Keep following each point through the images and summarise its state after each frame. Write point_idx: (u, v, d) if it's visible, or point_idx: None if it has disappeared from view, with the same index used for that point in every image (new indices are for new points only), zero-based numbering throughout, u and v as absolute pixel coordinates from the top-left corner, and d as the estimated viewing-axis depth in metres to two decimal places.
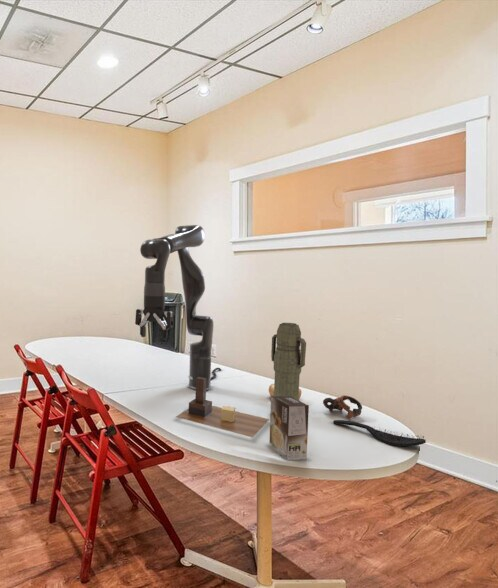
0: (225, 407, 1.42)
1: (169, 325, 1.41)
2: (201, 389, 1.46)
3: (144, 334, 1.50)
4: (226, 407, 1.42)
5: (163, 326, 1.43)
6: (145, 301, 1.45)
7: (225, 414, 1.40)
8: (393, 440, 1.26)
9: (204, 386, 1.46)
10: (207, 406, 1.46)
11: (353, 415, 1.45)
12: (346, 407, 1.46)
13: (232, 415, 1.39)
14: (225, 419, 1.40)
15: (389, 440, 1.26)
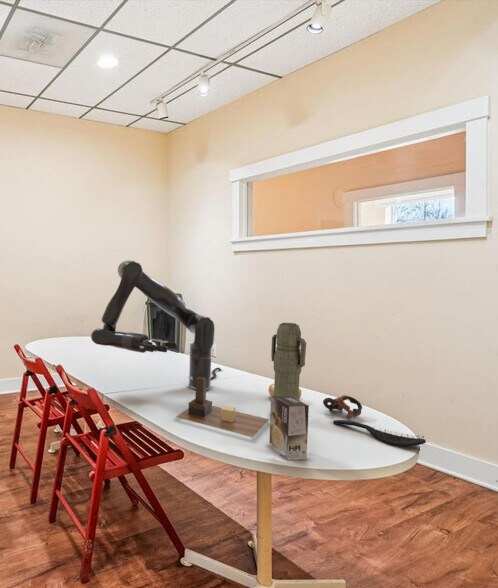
0: (225, 407, 1.42)
1: (150, 351, 1.53)
2: (201, 389, 1.46)
3: (174, 345, 1.58)
4: (226, 407, 1.42)
5: None
6: None
7: (225, 414, 1.40)
8: (393, 440, 1.26)
9: (204, 386, 1.46)
10: (207, 406, 1.46)
11: (353, 415, 1.45)
12: (346, 407, 1.46)
13: (232, 415, 1.39)
14: (225, 419, 1.40)
15: (389, 440, 1.26)
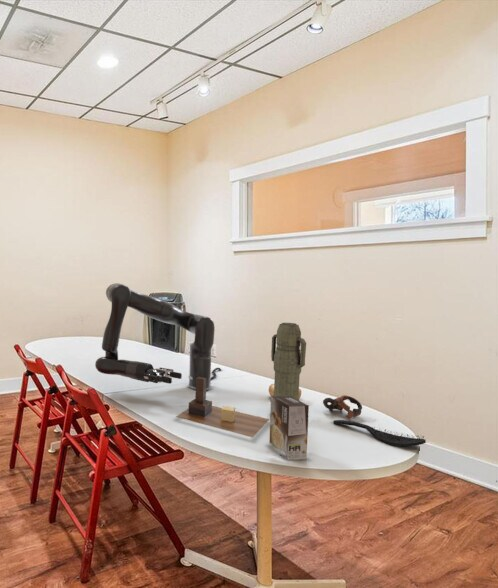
0: (225, 407, 1.42)
1: (154, 382, 1.53)
2: (201, 389, 1.46)
3: (179, 375, 1.57)
4: (226, 407, 1.42)
5: None
6: None
7: (225, 414, 1.40)
8: (393, 440, 1.26)
9: (204, 386, 1.46)
10: (207, 406, 1.46)
11: (353, 415, 1.45)
12: (346, 407, 1.46)
13: (232, 415, 1.39)
14: (225, 419, 1.40)
15: (389, 440, 1.26)
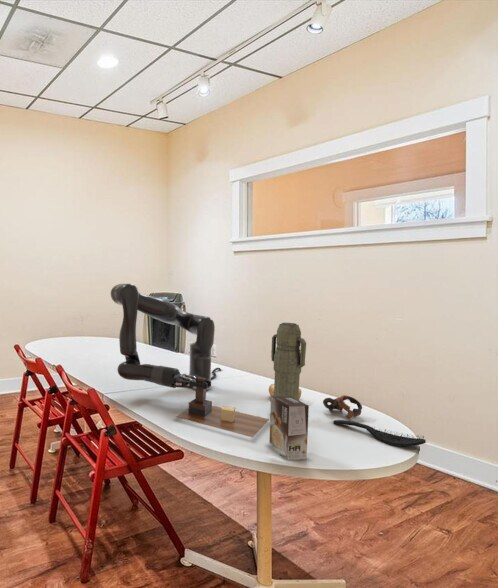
0: (225, 407, 1.42)
1: None
2: (201, 389, 1.46)
3: (208, 383, 1.47)
4: (226, 407, 1.42)
5: None
6: None
7: (225, 414, 1.40)
8: (393, 440, 1.26)
9: None
10: (207, 406, 1.46)
11: (353, 415, 1.45)
12: (346, 407, 1.46)
13: (232, 415, 1.39)
14: (225, 419, 1.40)
15: (389, 440, 1.26)
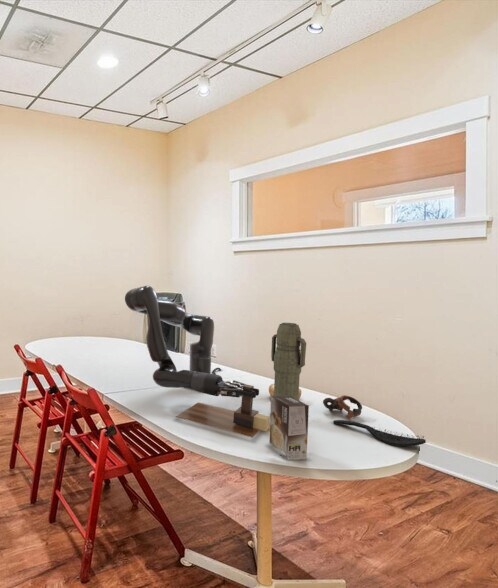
0: (259, 415, 1.35)
1: (236, 396, 1.35)
2: (248, 398, 1.35)
3: (256, 392, 1.36)
4: (260, 415, 1.35)
5: None
6: None
7: (258, 422, 1.33)
8: (393, 440, 1.26)
9: None
10: None
11: (353, 415, 1.45)
12: (346, 407, 1.46)
13: (265, 424, 1.31)
14: (257, 427, 1.33)
15: (389, 440, 1.26)
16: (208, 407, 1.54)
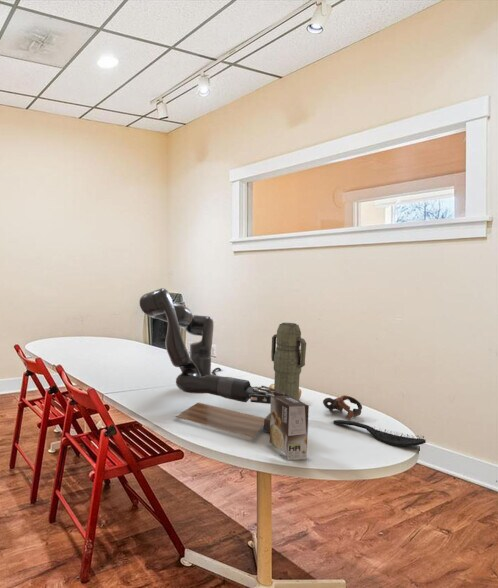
0: None
1: None
2: None
3: None
4: None
5: None
6: None
7: None
8: (393, 440, 1.26)
9: None
10: None
11: (353, 415, 1.45)
12: (346, 407, 1.46)
13: None
14: None
15: (389, 440, 1.26)
16: (208, 407, 1.54)
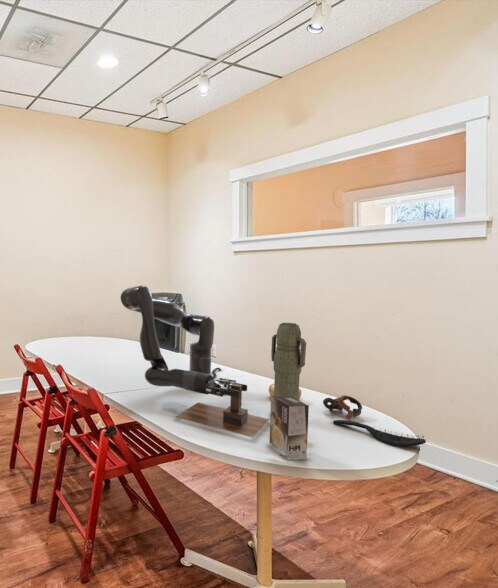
0: None
1: (219, 395, 1.36)
2: (237, 397, 1.38)
3: (244, 387, 1.41)
4: None
5: None
6: None
7: None
8: (393, 440, 1.26)
9: (240, 393, 1.38)
10: (244, 415, 1.37)
11: (353, 415, 1.45)
12: (346, 407, 1.46)
13: None
14: None
15: (389, 440, 1.26)
16: (208, 407, 1.54)
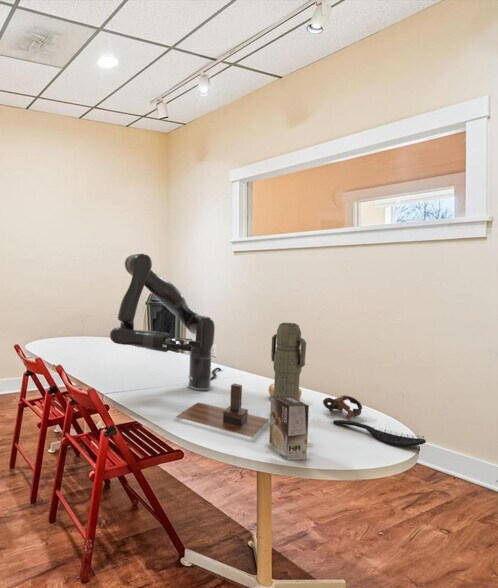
0: None
1: (174, 350, 1.47)
2: (237, 397, 1.38)
3: (198, 344, 1.51)
4: None
5: (178, 349, 1.48)
6: None
7: None
8: (393, 440, 1.26)
9: (240, 393, 1.38)
10: (244, 415, 1.37)
11: (353, 415, 1.45)
12: (346, 407, 1.46)
13: None
14: None
15: (389, 440, 1.26)
16: (208, 407, 1.54)
